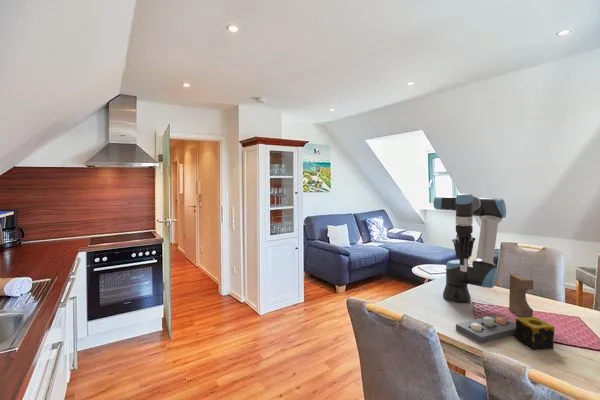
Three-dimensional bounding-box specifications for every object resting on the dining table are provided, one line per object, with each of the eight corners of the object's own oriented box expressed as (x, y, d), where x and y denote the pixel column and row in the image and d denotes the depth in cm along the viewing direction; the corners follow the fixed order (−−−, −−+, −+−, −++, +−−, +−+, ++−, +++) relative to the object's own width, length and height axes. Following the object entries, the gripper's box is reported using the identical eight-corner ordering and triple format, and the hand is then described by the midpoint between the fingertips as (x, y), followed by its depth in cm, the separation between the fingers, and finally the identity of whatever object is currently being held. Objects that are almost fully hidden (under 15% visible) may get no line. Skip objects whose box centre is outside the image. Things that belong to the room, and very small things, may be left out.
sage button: (481, 325, 151) (481, 317, 150) (487, 323, 152) (488, 315, 152) (489, 329, 146) (489, 321, 146) (496, 327, 148) (496, 319, 148)
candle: (513, 338, 142) (514, 317, 142) (534, 337, 143) (535, 316, 142) (532, 351, 132) (532, 328, 131) (554, 349, 133) (555, 326, 132)
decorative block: (533, 318, 162) (534, 280, 160) (521, 318, 162) (522, 280, 161) (519, 309, 173) (520, 274, 171) (508, 309, 173) (509, 274, 172)
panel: (455, 329, 152) (455, 323, 151) (494, 320, 160) (495, 314, 160) (481, 343, 138) (481, 337, 138) (522, 332, 147) (522, 326, 147)
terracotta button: (493, 325, 153) (493, 317, 153) (499, 324, 155) (499, 316, 155) (501, 329, 149) (501, 321, 149) (508, 328, 151) (508, 320, 150)
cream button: (468, 331, 148) (468, 323, 148) (475, 330, 149) (475, 322, 149) (476, 336, 144) (476, 327, 144) (483, 334, 145) (483, 326, 145)
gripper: (460, 226, 151) (459, 274, 152) (480, 224, 155) (479, 271, 157) (448, 224, 158) (447, 270, 159) (467, 222, 162) (467, 267, 164)
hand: (463, 271), depth 158 cm, fingers closed
